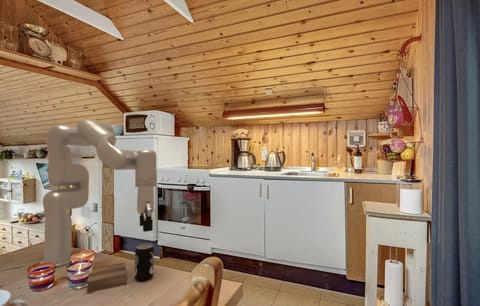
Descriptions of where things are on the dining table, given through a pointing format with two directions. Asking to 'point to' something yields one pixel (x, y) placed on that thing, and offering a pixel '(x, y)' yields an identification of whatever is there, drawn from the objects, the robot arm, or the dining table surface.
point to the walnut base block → (107, 277)
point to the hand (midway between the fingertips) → (145, 228)
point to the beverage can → (144, 262)
